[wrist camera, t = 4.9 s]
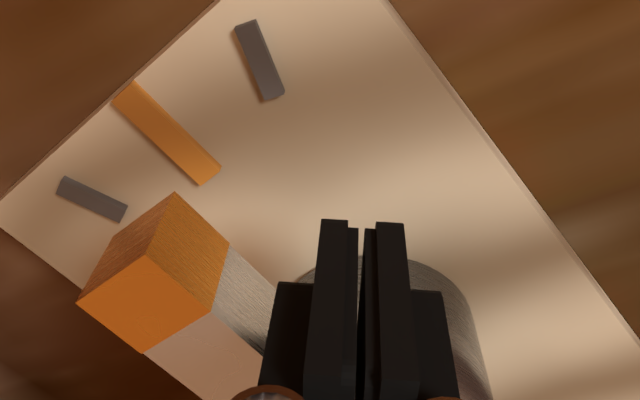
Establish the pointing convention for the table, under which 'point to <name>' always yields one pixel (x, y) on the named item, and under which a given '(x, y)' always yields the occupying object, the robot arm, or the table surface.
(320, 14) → the stand
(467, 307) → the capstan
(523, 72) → the table surface
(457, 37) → the table surface
